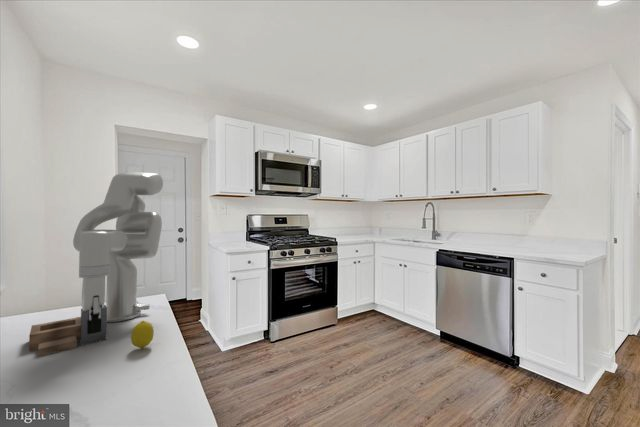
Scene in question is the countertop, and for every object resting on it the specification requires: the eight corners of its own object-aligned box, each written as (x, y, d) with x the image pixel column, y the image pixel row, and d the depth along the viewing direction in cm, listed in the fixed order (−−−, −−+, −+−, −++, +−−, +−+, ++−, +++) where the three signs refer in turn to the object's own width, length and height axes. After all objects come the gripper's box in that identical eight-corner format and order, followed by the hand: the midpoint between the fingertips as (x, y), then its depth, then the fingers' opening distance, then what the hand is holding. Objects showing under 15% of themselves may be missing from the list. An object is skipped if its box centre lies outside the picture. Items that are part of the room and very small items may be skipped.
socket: (81, 325, 99) (81, 312, 99) (85, 345, 83) (86, 330, 83) (32, 334, 91) (33, 320, 91) (27, 358, 75) (27, 342, 75)
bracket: (104, 336, 90) (105, 304, 90) (106, 339, 87) (106, 307, 87) (80, 341, 86) (80, 309, 86) (80, 345, 83) (81, 311, 83)
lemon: (142, 354, 78) (143, 325, 78) (125, 352, 79) (126, 323, 79) (157, 345, 83) (158, 318, 84) (142, 343, 84) (142, 317, 85)
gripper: (77, 269, 90) (76, 326, 90) (80, 276, 78) (79, 343, 78) (106, 266, 95) (105, 320, 95) (113, 273, 83) (112, 335, 83)
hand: (93, 330), depth 86 cm, fingers closed on bracket, 3 cm apart
